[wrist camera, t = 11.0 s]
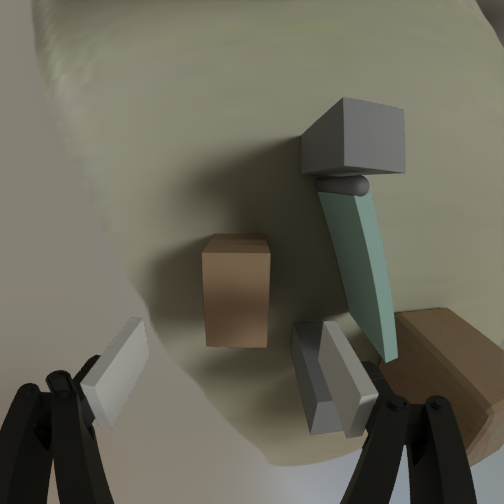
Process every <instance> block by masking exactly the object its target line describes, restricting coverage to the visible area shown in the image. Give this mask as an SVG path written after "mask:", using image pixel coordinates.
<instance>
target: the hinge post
mask: <svg viewBox="0 0 504 504" xmlns="http://www.w3.org/2000/svg"><path fill="white" fill-rule="evenodd" d="M393 173H405V127H404V111H403V109H400V108H396V107H392V106H387V105H383V104H378V103H373V102H368V101H363V100H357V99H351V98H344V97H343V98H342V99H340V100H339V101H338V102H337V103H336V104H335V105H334V106H333V107H331V108H330V109H329V110H328V111H327V112H326V113H325V114H324V115H323V116H321V117H320V118H319V119H318V120H317V121H316V122H315V123H314V124H313V125H312V126H310V127H309V128H308V129H307V130H306V131H305V132H304V133H303V134H302V135H301V174H307V175H324V176H338V177H340V176H355V175H372V174H393Z"/></svg>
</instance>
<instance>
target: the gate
mask: <svg viewBox="0 0 504 504" xmlns="http://www.w3.org/2000/svg"><path fill="white" fill-rule="evenodd" d="M315 189H316V190H317V191H318V195H319V199H320V202H321V205H322V208H323V212H324V215H325V218H326V222H327V225H328V229H329V232H330V236H331V239H332V243H333V247H334V250H335V254H336V258H337V262H338V266H339V270H340V274H341V278H342V282H343V286H344V290H345V294H346V299H347V303H348V308H349V312H350V315H351V316H352V317H353V319H354V320H355V321H356V323H357V324H358V325H359V327H360V328H361V329H362V331H363V332H364V334H365V335H366V336H367V338H368V339H369V340H370V342H371V343H372V345H373V346H374V347H375V349H376V350H377V352H378V353H379V354H380V356H381V357H382V359H383V360H384V361H385V363H387V362H389V361H391V360H393V359H396V358H398V352H397V339H396V328H395V319H394V311H393V303H392V296H391V289H390V282H389V276H388V270H387V265H386V259H385V254H384V249H383V244H382V239H381V235H380V230H379V226H378V222H377V217H376V213H375V209H374V205H373V201H372V198H371V194H370V191H369V182H368V180H367V179H366V178H365V177H364V176H361V175H355V176H340V177H328V178H319V179H317V180H316V181H315Z"/></svg>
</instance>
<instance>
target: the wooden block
mask: <svg viewBox="0 0 504 504" xmlns="http://www.w3.org/2000/svg"><path fill="white" fill-rule="evenodd" d="M394 319H395V328H396V339H397V352H398V358H396V359H393V360H391V361H389V362H387V363H385V361H384V360H383V359H382V357H381V360H380V364H379V367H378V368H379V370H380V371H381V373H382V375H383V376H384V378H385V379H386V381H387V382H388V384H389V385H390V387H391V389H392V390H393V392H394V393H395V395H399V396H402V397H404V398H406V399H407V400H408V402H409V403H410V404H425V402H426V400H427V398H429V397H430V396H433V395H440V396H443V397H445V398H446V399H448V400H449V402H450V404H451V406H452V409H453V412H454V415H455V418H456V421H457V424H458V427H459V430H460V434H461V437H462V440H463V444H464V447H465V451H466V454H467V458H468V462H469V466H470V467H471V466H473V465H475V464H477V463H478V462H480V461H482V460H483V459H485V458H486V457H488V456H490V455H491V454H493V453H494V452H496V451H497V450H499V449H500V447H501V446H502V445H503V443H504V350H503V349H501V348H500V347H499V346H498V345H496V344H495V343H494V342H492V341H491V340H490V339H489V338H487V337H486V336H485V335H483V334H482V333H481V332H480V331H478V330H477V329H476V328H474V327H473V326H472V325H470V324H469V323H468V322H466V321H465V320H464V319H462V318H461V317H459V316H458V315H457V314H455V313H454V312H453V311H451V310H450V309H448V308H438V309H429V310H419V311H409V312H398V313H395V314H394Z"/></svg>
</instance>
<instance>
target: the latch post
mask: <svg viewBox="0 0 504 504" xmlns="http://www.w3.org/2000/svg"><path fill="white" fill-rule="evenodd" d="M322 329H323V322H306V323H293V333H292V344H291V355H292V359H293V364H294V368H295V372H296V376H297V380H298V385H299V389H300V393H301V397H302V402H303V406H304V410H305V414H306V419H307V423H308V427H309V432H310V435H312V434H321V433H329V432H337V431H343V427H342V424H341V421H340V419H339V416H338V413H337V410H336V407H335V405H334V402H333V399H332V396H331V394H330V391H329V388H328V385H327V383H326V380H325V377H324V375H323V372H322V369H321V366H320V364H319V361H318V356H319V350H320V343H321V336H322Z"/></svg>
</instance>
